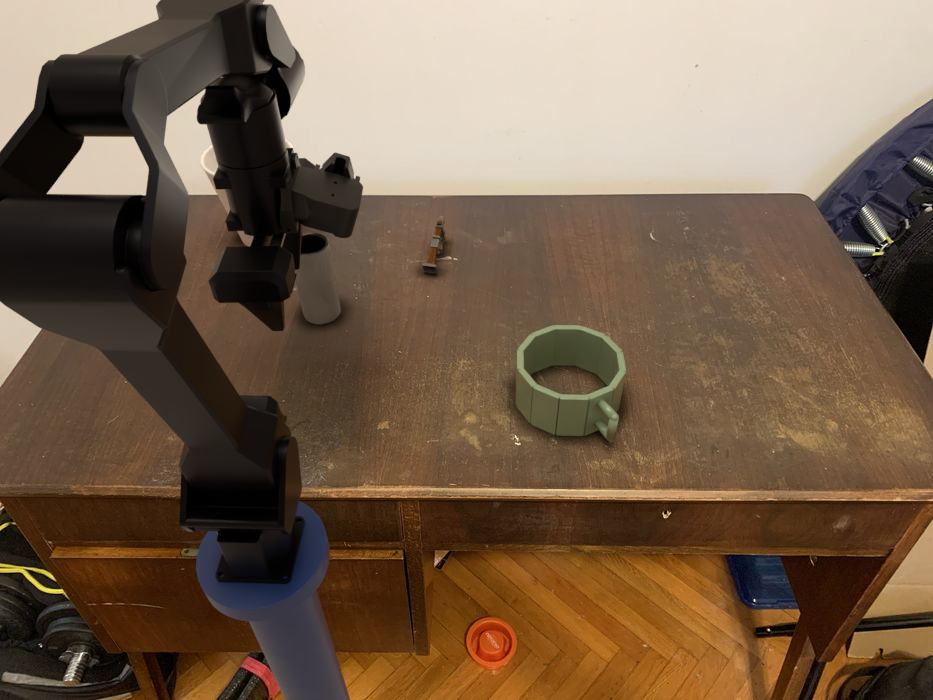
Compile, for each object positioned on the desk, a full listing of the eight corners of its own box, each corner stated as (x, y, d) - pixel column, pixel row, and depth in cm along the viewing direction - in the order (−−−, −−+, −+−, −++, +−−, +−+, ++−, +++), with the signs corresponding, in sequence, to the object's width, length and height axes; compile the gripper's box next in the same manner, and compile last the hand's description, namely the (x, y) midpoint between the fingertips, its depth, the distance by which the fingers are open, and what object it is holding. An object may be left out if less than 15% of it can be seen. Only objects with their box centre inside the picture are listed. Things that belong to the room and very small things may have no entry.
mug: (496, 382, 80) (497, 345, 76) (580, 349, 83) (584, 313, 80) (565, 469, 71) (570, 433, 67) (655, 429, 74) (664, 392, 71)
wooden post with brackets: (451, 232, 100) (447, 213, 95) (440, 283, 97) (435, 266, 92) (438, 230, 100) (434, 212, 96) (426, 281, 97) (421, 264, 93)
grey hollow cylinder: (317, 297, 91) (304, 228, 84) (348, 307, 90) (336, 237, 82) (296, 318, 88) (280, 248, 81) (327, 329, 87) (313, 258, 80)
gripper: (336, 213, 53) (361, 364, 64) (360, 99, 66) (377, 240, 77) (183, 216, 53) (234, 367, 64) (238, 101, 66) (272, 241, 77)
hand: (286, 297), depth 70 cm, fingers open, 9 cm apart
